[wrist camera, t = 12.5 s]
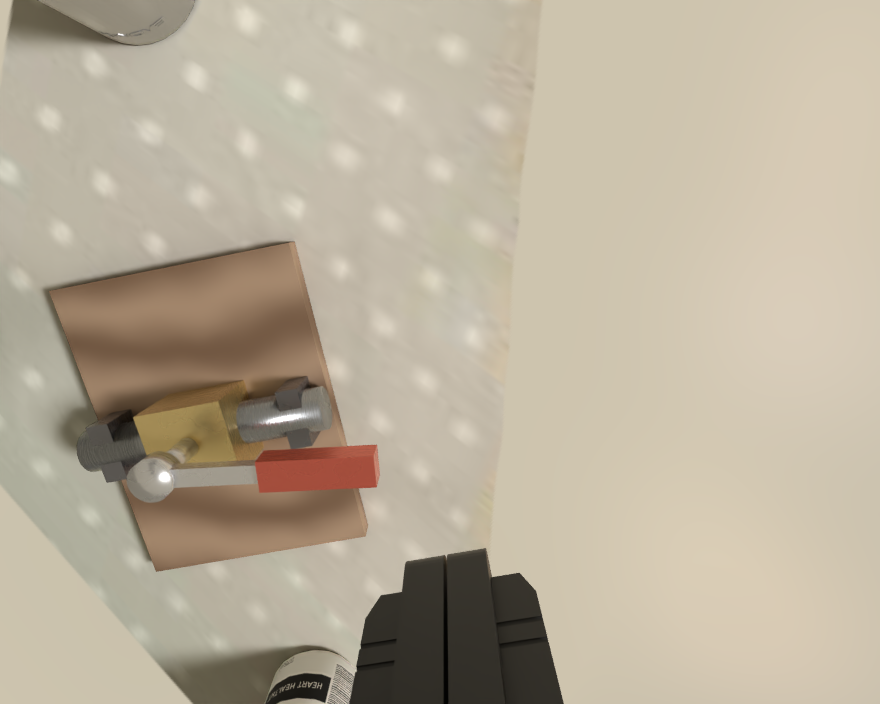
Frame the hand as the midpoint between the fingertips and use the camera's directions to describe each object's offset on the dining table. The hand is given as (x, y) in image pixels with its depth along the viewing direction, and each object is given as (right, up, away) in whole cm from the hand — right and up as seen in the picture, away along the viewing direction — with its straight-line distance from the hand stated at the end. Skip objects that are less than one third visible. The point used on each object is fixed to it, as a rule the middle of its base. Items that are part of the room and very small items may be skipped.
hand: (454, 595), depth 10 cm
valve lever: (-11, -3, +23) cm, 26 cm away
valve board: (-18, 0, +32) cm, 37 cm away
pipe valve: (-18, 0, +32) cm, 37 cm away
